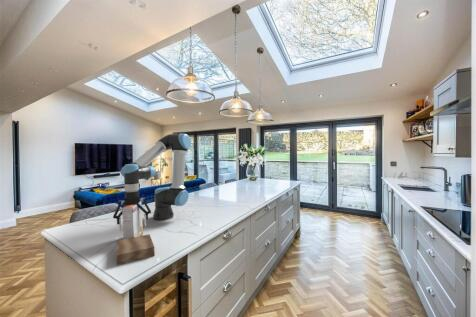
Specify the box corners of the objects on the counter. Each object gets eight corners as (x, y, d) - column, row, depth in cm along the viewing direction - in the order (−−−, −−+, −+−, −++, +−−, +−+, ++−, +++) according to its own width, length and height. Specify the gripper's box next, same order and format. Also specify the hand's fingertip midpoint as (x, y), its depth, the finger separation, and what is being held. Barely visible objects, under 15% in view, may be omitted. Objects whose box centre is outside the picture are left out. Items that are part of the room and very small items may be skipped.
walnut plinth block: (149, 243, 118) (149, 234, 117) (154, 256, 102) (154, 246, 102) (117, 250, 110) (116, 240, 109) (116, 266, 94) (116, 255, 94)
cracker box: (133, 234, 128) (131, 201, 127) (143, 234, 129) (142, 200, 128) (122, 245, 114) (121, 207, 114) (134, 244, 115) (133, 206, 114)
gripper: (106, 194, 111) (108, 233, 112) (155, 189, 123) (156, 225, 124) (107, 192, 118) (108, 229, 119) (153, 187, 130) (154, 221, 130)
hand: (133, 227), depth 121 cm, fingers open, 12 cm apart
